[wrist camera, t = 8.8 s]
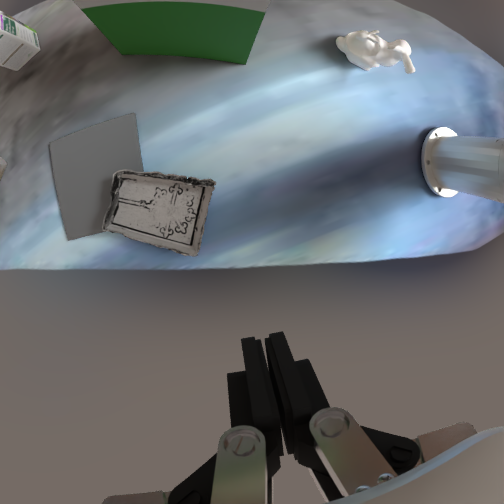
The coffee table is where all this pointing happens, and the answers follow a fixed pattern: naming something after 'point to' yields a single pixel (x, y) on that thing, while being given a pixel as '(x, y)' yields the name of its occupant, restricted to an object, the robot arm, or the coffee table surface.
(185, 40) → the hardback book
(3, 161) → the coffee box
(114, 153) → the mat
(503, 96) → the coffee table surface
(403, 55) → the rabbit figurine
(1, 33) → the syrup box
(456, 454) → the robot arm
